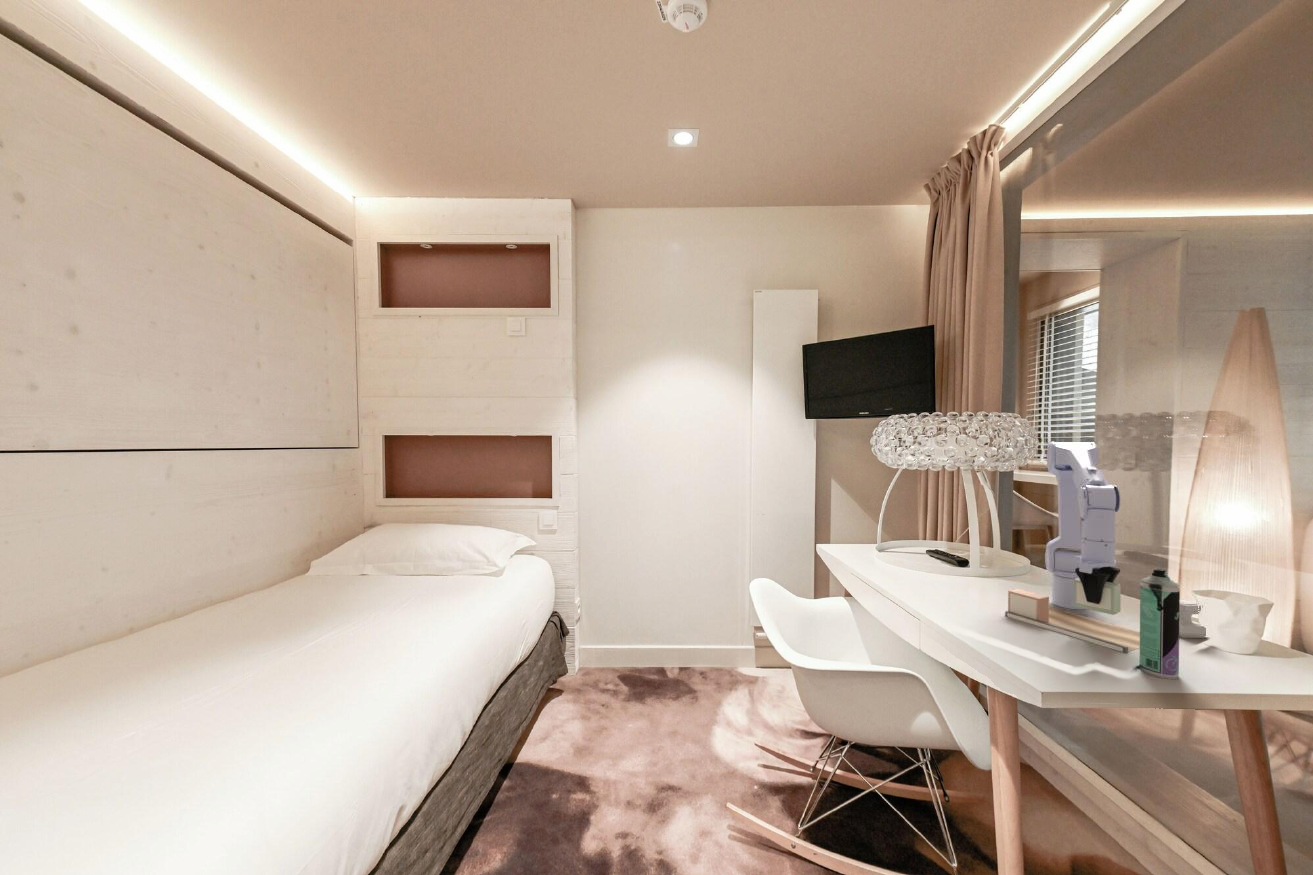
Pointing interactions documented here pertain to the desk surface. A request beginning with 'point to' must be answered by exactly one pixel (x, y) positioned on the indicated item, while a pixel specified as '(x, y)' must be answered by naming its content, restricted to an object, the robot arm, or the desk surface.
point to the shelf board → (1095, 628)
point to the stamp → (1190, 621)
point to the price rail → (1068, 632)
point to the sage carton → (1108, 601)
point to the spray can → (1159, 625)
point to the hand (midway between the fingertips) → (1097, 600)
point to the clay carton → (1029, 604)
